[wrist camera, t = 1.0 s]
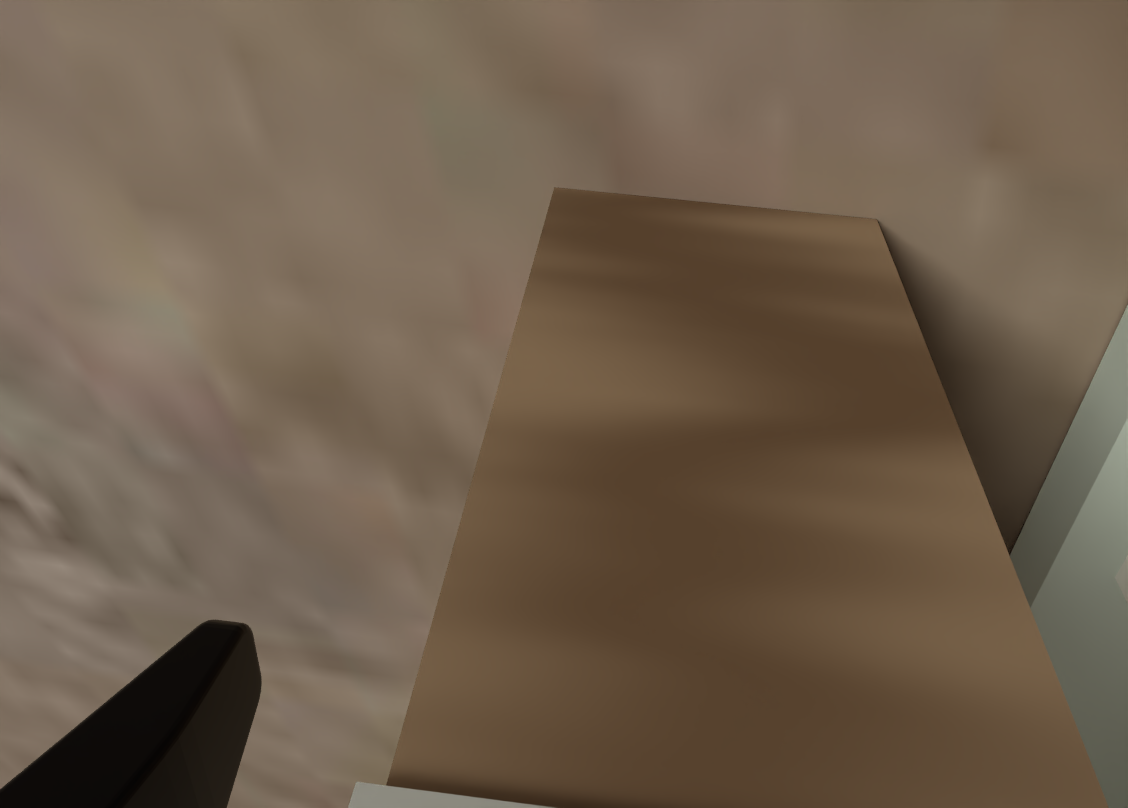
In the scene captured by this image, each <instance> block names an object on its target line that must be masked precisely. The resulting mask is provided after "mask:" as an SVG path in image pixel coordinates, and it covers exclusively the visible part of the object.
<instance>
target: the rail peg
mask: <svg viewBox="0 0 1128 808" xmlns="http://www.w3.org/2000/svg"><path fill="white" fill-rule="evenodd" d="M348 808H1109V807H1108V804H1107V802H1106V799H1105V797H1104V794H1103V792H1102V789H1101V787H1100V784H1099V781H1098V779H1097V776H1096V774H1095V771H1094V769H1093V766H1092V764H1091V761H1090V759H1089V756H1088V754H1087V751H1086V748H1085V746H1084V743H1083V741H1082V738H1081V736H1080V733H1079V731H1078V728H1077V726H1076V723H1075V721H1074V718H1073V716H1072V713H1071V710H1070V708H1069V705H1068V703H1067V700H1066V698H1065V695H1064V693H1063V690H1062V688H1061V685H1060V683H1059V680H1058V677H1057V675H1056V672H1055V670H1054V667H1053V665H1052V662H1051V660H1050V657H1049V655H1048V652H1047V650H1046V647H1045V645H1044V642H1043V639H1042V637H1041V634H1040V632H1039V629H1038V627H1037V624H1036V622H1035V619H1034V617H1033V614H1032V612H1031V609H1030V607H1029V604H1028V601H1027V599H1026V596H1025V594H1024V591H1023V589H1022V586H1021V584H1020V581H1019V579H1018V576H1017V574H1016V571H1015V568H1014V566H1013V563H1012V561H1011V558H1010V556H1009V553H1008V551H1007V548H1006V546H1005V543H1004V541H1003V538H1002V536H1001V533H1000V530H999V528H998V525H997V523H996V520H995V518H994V515H993V513H992V510H991V508H990V505H989V503H988V500H987V497H986V495H985V492H984V490H983V487H982V485H981V482H980V480H979V477H978V475H977V472H976V470H975V467H974V465H973V462H972V459H971V457H970V454H969V452H968V449H967V447H966V444H965V442H964V439H963V437H962V434H961V432H960V429H959V427H958V424H957V421H956V419H955V416H954V414H953V411H952V409H951V406H950V404H949V401H948V399H947V396H946V394H945V391H944V388H943V386H942V383H941V381H940V378H939V376H938V373H937V371H936V368H935V366H934V363H933V361H932V358H931V356H930V353H929V350H928V348H927V345H926V343H925V340H924V338H923V335H922V333H921V330H920V328H919V325H918V323H917V320H916V317H915V315H914V312H913V310H912V307H911V305H910V302H909V300H908V297H907V295H906V292H905V290H904V287H903V285H902V282H901V279H900V277H899V274H898V272H897V269H896V267H895V264H894V262H893V259H892V257H891V254H890V252H889V249H888V247H887V244H886V241H885V239H884V236H883V234H882V231H881V229H880V226H879V224H878V221H877V219H867V218H857V217H847V216H837V215H827V214H817V213H807V212H797V211H787V210H777V209H767V208H757V207H746V206H736V205H726V204H716V203H706V202H696V201H686V200H676V199H666V198H656V197H646V196H636V195H625V194H615V193H605V192H595V191H585V190H575V189H565V188H555V187H554V191H553V194H552V198H551V201H550V205H549V209H548V212H547V216H546V219H545V223H544V226H543V230H542V233H541V237H540V241H539V244H538V248H537V251H536V255H535V258H534V262H533V265H532V269H531V273H530V276H529V280H528V283H527V287H526V290H525V294H524V297H523V301H522V305H521V308H520V312H519V315H518V319H517V322H516V326H515V329H514V333H513V337H512V340H511V344H510V347H509V351H508V354H507V358H506V362H505V365H504V369H503V372H502V376H501V379H500V383H499V386H498V390H497V394H496V397H495V401H494V404H493V408H492V411H491V415H490V418H489V422H488V426H487V429H486V433H485V436H484V440H483V443H482V447H481V450H480V454H479V458H478V461H477V465H476V468H475V472H474V475H473V479H472V482H471V486H470V490H469V493H468V497H467V500H466V504H465V507H464V511H463V514H462V518H461V522H460V525H459V529H458V532H457V536H456V539H455V543H454V546H453V550H452V554H451V557H450V561H449V564H448V568H447V571H446V575H445V578H444V582H443V586H442V589H441V593H440V596H439V600H438V603H437V607H436V610H435V614H434V618H433V621H432V625H431V628H430V632H429V635H428V639H427V642H426V646H425V650H424V653H423V657H422V660H421V664H420V667H419V671H418V674H417V678H416V682H415V685H414V689H413V692H412V696H411V699H410V703H409V706H408V710H407V714H406V717H405V721H404V724H403V728H402V731H401V735H400V738H399V742H398V746H397V749H396V753H395V756H394V760H393V763H392V767H391V770H390V774H389V778H388V781H387V785H386V786H385V785H377V784H370V783H362V782H356V784H355V787H354V791H353V794H352V797H351V800H350V804H349V807H348Z"/></svg>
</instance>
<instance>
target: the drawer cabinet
mask: <svg viewBox="0 0 1128 808" xmlns="http://www.w3.org/2000/svg"><path fill="white" fill-rule="evenodd" d="M1010 558H1011V561H1012V563H1013V566H1014V568H1015V571H1016V574H1017V576H1018V579H1019V581H1020V584H1021V586H1022V589H1023V591H1024V594H1025V596H1026V599H1027V601H1028V604H1029V607H1030V609H1031V612H1032V614H1033V617H1034V619H1035V622H1036V624H1037V627H1038V629H1039V632H1040V634H1041V637H1042V639H1043V642H1044V645H1045V647H1046V650H1047V652H1048V655H1049V657H1050V660H1051V662H1052V665H1053V667H1054V670H1055V672H1056V675H1057V677H1058V680H1059V683H1060V685H1061V688H1062V690H1063V693H1064V695H1065V698H1066V700H1067V703H1068V705H1069V708H1070V710H1071V713H1072V716H1073V718H1074V721H1075V723H1076V726H1077V728H1078V731H1079V733H1080V736H1081V738H1082V741H1083V743H1084V746H1085V748H1086V751H1087V754H1088V756H1089V759H1090V761H1091V764H1092V766H1093V769H1094V771H1095V774H1096V776H1097V779H1098V781H1099V784H1100V787H1101V789H1102V792H1103V794H1104V797H1105V799H1106V802H1107V804H1108V807H1109V808H1128V305H1127V308H1126V310H1125V312H1124V314H1123V316H1122V318H1121V320H1120V322H1119V325H1118V327H1117V329H1116V331H1115V333H1114V335H1113V337H1112V339H1111V342H1110V344H1109V346H1108V348H1107V350H1106V352H1105V354H1104V356H1103V358H1102V361H1101V363H1100V365H1099V367H1098V369H1097V371H1096V373H1095V375H1094V378H1093V380H1092V382H1091V384H1090V386H1089V388H1088V390H1087V392H1086V395H1085V397H1084V399H1083V401H1082V403H1081V405H1080V407H1079V409H1078V412H1077V414H1076V416H1075V418H1074V420H1073V422H1072V424H1071V426H1070V429H1069V431H1068V433H1067V435H1066V437H1065V439H1064V441H1063V443H1062V446H1061V448H1060V450H1059V452H1058V454H1057V456H1056V458H1055V460H1054V463H1053V465H1052V467H1051V469H1050V471H1049V473H1048V475H1047V477H1046V480H1045V482H1044V484H1043V486H1042V488H1041V490H1040V492H1039V494H1038V496H1037V499H1036V501H1035V503H1034V505H1033V507H1032V509H1031V511H1030V513H1029V516H1028V518H1027V520H1026V522H1025V524H1024V526H1023V528H1022V530H1021V533H1020V535H1019V537H1018V539H1017V541H1016V543H1015V545H1014V547H1013V550H1012V552H1011V554H1010Z"/></svg>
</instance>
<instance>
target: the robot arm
mask: <svg viewBox="0 0 1128 808" xmlns="http://www.w3.org/2000/svg"><path fill="white" fill-rule="evenodd" d="M260 693H261V672H260V667H259V662H258V657H257V652H256V647H255V642H254V637H253V633H252V630H251V629H250V627H249V626H248V625H247V624H244V623H238V622H230V621H222V620H208V621H206V622H204V623H202V624H200V625H199V626H197V627H196V628H195V629H194V630H193V631H191V632H190V633H189V634H188V635H187V636H185V637H184V638H183V639H182V640H181V641H179V642H178V643H177V644H176V645H174V646H173V647H172V648H171V649H170V650H168V651H167V652H166V653H165V654H164V655H162V656H161V657H160V658H159V659H157V660H156V661H155V662H154V663H153V664H151V665H150V666H149V667H148V668H147V669H145V670H144V671H143V672H142V673H141V674H139V675H138V676H137V677H136V678H134V679H133V680H132V681H131V682H130V683H128V684H127V685H126V686H125V687H124V688H122V689H121V690H120V691H119V692H117V693H116V694H115V695H114V696H113V697H111V698H110V699H109V700H108V701H107V702H105V703H104V704H103V705H102V706H101V707H99V708H98V709H97V710H96V711H94V712H93V713H92V714H91V715H90V716H88V717H87V718H86V719H85V720H84V721H82V722H81V723H80V724H79V725H78V726H76V727H75V728H74V729H73V730H71V731H70V732H69V733H68V734H67V735H65V736H64V737H63V738H62V739H61V740H59V741H58V742H57V743H56V744H54V745H53V746H52V747H51V748H50V749H48V750H47V751H46V752H45V753H44V754H42V755H41V756H40V757H39V758H38V759H36V760H35V761H34V762H33V763H31V764H30V765H29V766H28V767H27V768H25V769H24V770H23V771H22V772H21V773H19V774H18V775H17V776H16V777H14V778H13V779H12V780H11V781H10V782H8V783H7V784H6V785H5V786H4V787H2V788H1V789H0V808H227V805H228V801H229V798H230V795H231V791H232V788H233V785H234V782H235V778H236V775H237V772H238V768H239V765H240V762H241V758H242V755H243V752H244V749H245V745H246V742H247V739H248V735H249V732H250V729H251V725H252V722H253V719H254V715H255V712H256V709H257V706H258V702H259V698H260Z"/></svg>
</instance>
